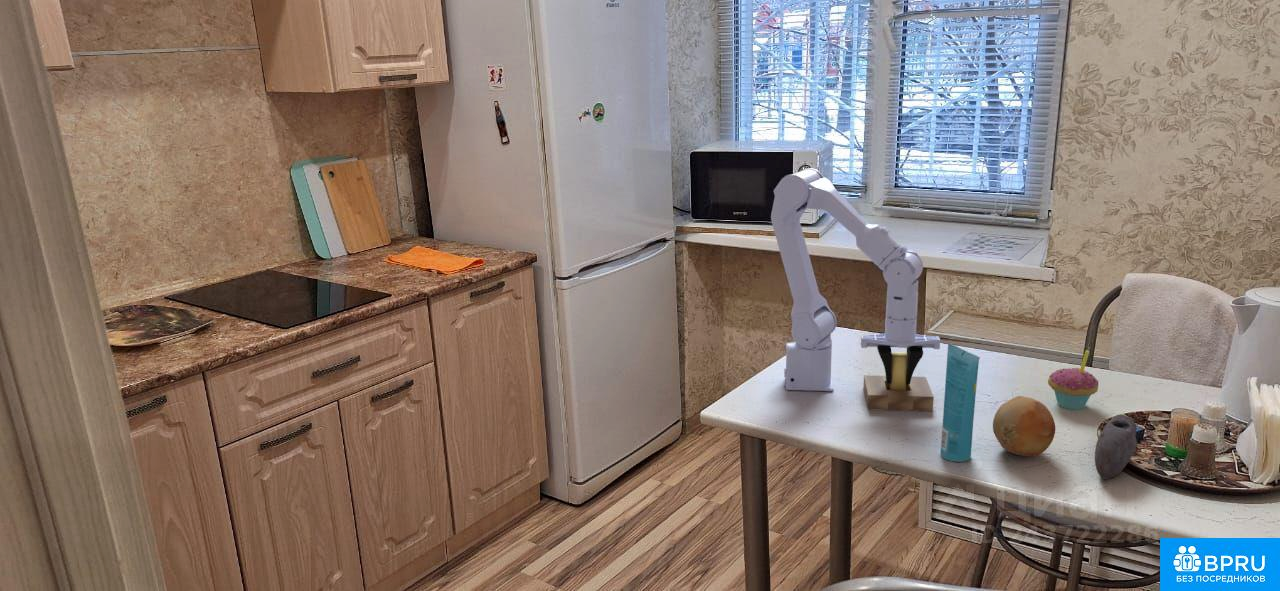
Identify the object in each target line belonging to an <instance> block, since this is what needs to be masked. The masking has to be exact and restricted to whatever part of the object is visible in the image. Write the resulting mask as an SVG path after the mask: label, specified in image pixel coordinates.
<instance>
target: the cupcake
mask: <svg viewBox="0 0 1280 591" xmlns="http://www.w3.org/2000/svg"><path fill="white" fill-rule="evenodd" d="M1090 349H1091V347H1090V346H1088V349H1087V350H1085V352H1084V355H1083V359H1082V362H1081V365H1080V368H1079V367H1071V368H1070V367H1068V368H1060V369H1058V370H1055V371H1054V372H1052V373H1051V374H1050V375H1049V377H1048V379H1047V384H1048V385H1049V386H1050V388H1051V389H1052V390H1053V391H1054V394H1055V400H1056V404H1057V405H1058V406H1059V407H1061V408H1064V409H1067V410H1073V411H1074V410H1077V411H1079V410H1081V409H1082V410H1083V409H1084V408H1085V407H1086V405H1087V403H1088V402H1089V399H1090V398H1091V396H1092V395H1094V394H1096V393H1097V392H1098V389H1099V380H1097V378H1096V377H1095V376H1094V375H1093V374H1091V373H1090V372H1089V371H1086V370H1085V367H1086V364H1087V361H1088V357H1089V355H1090Z"/></svg>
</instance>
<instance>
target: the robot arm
mask: <svg viewBox="0 0 1280 591" xmlns="http://www.w3.org/2000/svg"><path fill="white" fill-rule="evenodd" d="M773 194H774V199H773V204H772V210H771V214H770V220H771V224H772V229H773V232H774V236H775V239H776V242H777V246H778V250H779V253H780V256H781V257H780V258H781V261H782V264H783V267H784V272H785V273H786V274H785V275H786V278H787V282H788V286H789V289H790V294H791V296H792V300H793V305H792V309H791V312H790V317H791V322H792V325H791V330H790V332H791V337H792V339H793V342H791V341H790V342H786V344H785V346H786V350H785V351H786V353H785V356H786V357H785V360H786V361H785V368H784V370H783V371H784V378H785V390H786V391H814V392H818V391H819V392H833V391H834V381H833V380H834V379H833V375H832V354H833V353H832V351H833V350H832V348H833V346H832V345H833V340H832V337H831V336H832V334H833V332H834V331H835V330H836V328H837V325H838V324H837V317H836V315H835V313H834V311H832V310H831V309H830V306H829V304H828V300H827V299H826V298H825V297H824V296H823V295H822V294H821V293H820V290H819V287H818V286H819V285H818V283H817V279H816V276H815V273H814V269H813V265H812V261H811V257H810V254H809V250H808V246H807V242H806V239H805V235H804V231H803V228H802V224H801V222H800V221H801V220H800V219H801V217H802V216H803V214H804V213H806V210H807V209H811V210H822V211H825V212H826V213H828V214H829V215H830V216H831V217H832V218H833V219H834V220H836V221H837V222H838V223H839V224H840V225H842V226H843V227H844V228H845V229H846V230H848V231H849V232H850V234H852V235H853V236H854V237H855V241H856V242H855V243H856V247H857V248H858V249H859V250H860V251H861V252H862V253H863V254H864V255H866V257H867V258H869V259H870V260H871V262H873V264H874V265H875V266H876V267H878V268H879V269H880V270H881V271H882V275H883V278H884V281H885V283H887V288H886V289H887V291H886V301H885V305H886V306H885V308H886V309H885V320H884V322H885V325H884V333H877V334H861V335H860V347H861V348H862V349H866V348H874V347H875V348H877V352H878V354H879V357H880V360H881V361H882V362H881V363H882V364H883V366H884V373H885V376H886V382H887V383H888V384H891V361H892V353H893V352H892V348H899V349H901V348H902V349H906V354H907V355H908V359H907V376H906V384H910V382H911V378H912V377H913V374H914V372H915V370H916V368H917V366H918V364H919V362H920V361H921V359H922V358H923V356H924V348H925V349H926V348H927V349H928V348H929V349H934V350H940V348H941V338H940V337H939V336H937V335H936V336H935V335H924V334H917V324H918V323H917V321H918V304H919V280H918V278H919V277H920V276H921V274H922V273H923V270H924V263H923V261H922V259H921V258H920V256H919V254H918V253H917V252H915V251H913V250H908V248H907V247H906V246H905V245H903V246H902V245H901V244H900V243H898V241H897V240H896V239H894V237H892V236H891V234H889V233H890V230H889V228H887V227H886V226H883V227H882V226H881V225H880V224H876V223H875V224H871V223H868V222H867V221H866V220H865V219H864V217H862V215H861V214H860V213H859V212H858V211H857V210H856V209H855V208H854V206H852V204H851V203H850V202H848V200H846V198H845V197H844V196H843V195H842V194H841V193H840V192H839V191H838V189H836V187H835V186H834V184H833V183H832V182H831V180H830V179H828V178H827V177H824V176H823V174H822V172H820V171H819V170H817V169H815V168H811V167H807V168H804V169H802V170H800V171H797V172H795V173H793V174H792V173H791V174H787V175H784V177H782V178H781V180H780V181H779V182H778V184H777V185H776V187H775V188H774V189H773Z"/></svg>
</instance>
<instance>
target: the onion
mask: <svg viewBox="0 0 1280 591" xmlns="http://www.w3.org/2000/svg"><path fill="white" fill-rule="evenodd" d="M992 420H993V421H992V431H993V433H994V436H995V438H996V440H997V441H998V443H999V444H1000V446H1001V447H1002V448H1003V449H1004V450H1006V451H1007V452H1009V453H1012V454H1016V455H1019V456H1026V457H1036V456H1038V455H1040V454H1043V453H1044V452H1045V451H1047V449H1048V448H1049V447H1050V446H1051V444H1052V442H1053V440H1054V438H1055V434H1056V423H1055V420H1054V417H1053V415H1052V413H1051V411H1050V410H1049V408H1048V407H1047V406H1046V405H1045V404H1044V403H1042V402H1041V401H1039V400H1037V399H1035V398H1032V397H1029V396H1023V395H1022V396H1021V395H1018V396H1015V397H1013V398H1011V399H1009V400H1007V401H1006V402H1004V403H1003V404H1001V405H1000V406H999V407H998V409H997V410H996V412H995V414H994V417H993V419H992Z"/></svg>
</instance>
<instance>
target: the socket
mask: <svg viewBox="0 0 1280 591" xmlns="http://www.w3.org/2000/svg"><path fill="white" fill-rule="evenodd" d="M862 389H863V394H864V398H865V403H867V404H866V408H867V410H870V409H882V410H881V411H903V410H915V411H914V412H933V411H934V401H935V400H934V398H935V397H934V395H933V391H932V389H931V387H930V384H929V382H928V379H927V377H926V376H912V378H911V382H910V384H906V391H905V390H890V384H888V383H887V382H886V375H869V374H868V375H865V374H864V375H863V388H862ZM916 410H917V411H916ZM918 410H919V411H918Z"/></svg>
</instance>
